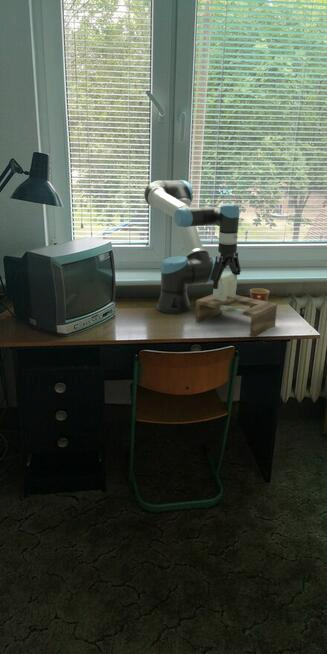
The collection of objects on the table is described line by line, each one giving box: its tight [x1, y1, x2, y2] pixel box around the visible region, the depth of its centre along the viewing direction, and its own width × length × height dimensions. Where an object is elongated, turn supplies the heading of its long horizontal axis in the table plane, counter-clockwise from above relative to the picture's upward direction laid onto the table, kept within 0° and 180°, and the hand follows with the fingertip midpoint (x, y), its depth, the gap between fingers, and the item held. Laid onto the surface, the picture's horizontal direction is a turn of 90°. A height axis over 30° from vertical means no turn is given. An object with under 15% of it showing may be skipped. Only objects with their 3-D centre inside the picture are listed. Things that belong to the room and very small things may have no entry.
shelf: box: [195, 293, 278, 338], centre depth 204 cm, size 28×18×10 cm, turn 51°
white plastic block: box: [214, 273, 237, 301], centre depth 206 cm, size 5×9×10 cm, turn 141°
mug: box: [249, 287, 271, 308], centre depth 217 cm, size 12×9×10 cm
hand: (224, 292), depth 207 cm, fingers open, 13 cm apart
